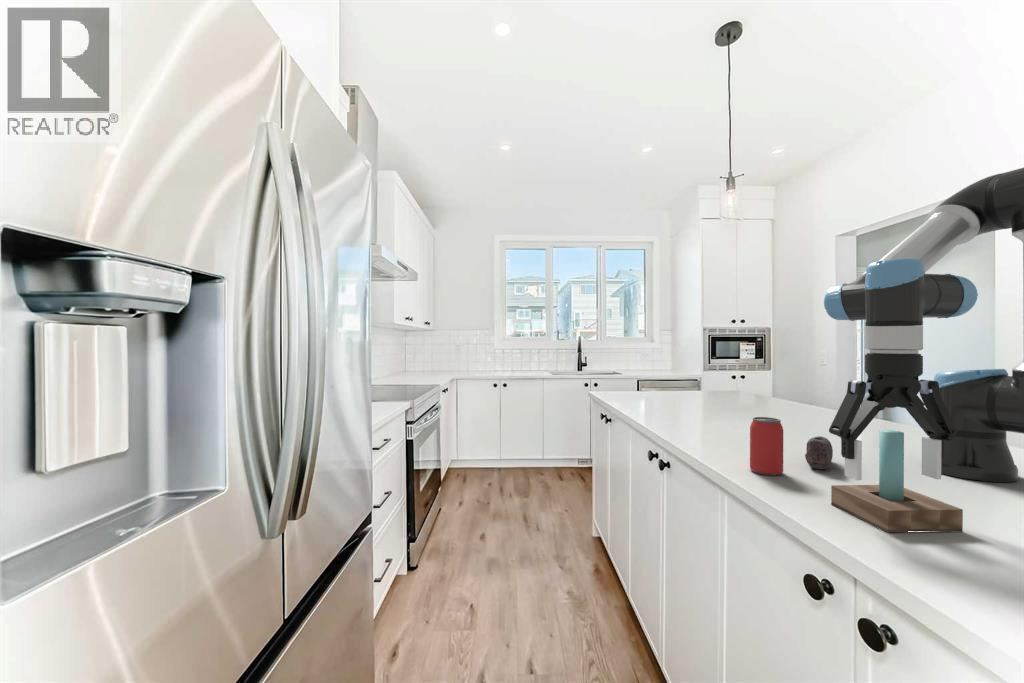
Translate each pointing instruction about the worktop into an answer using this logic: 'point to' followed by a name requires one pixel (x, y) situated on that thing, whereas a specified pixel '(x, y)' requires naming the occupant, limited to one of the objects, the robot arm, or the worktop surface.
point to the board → (897, 509)
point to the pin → (891, 465)
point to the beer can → (766, 446)
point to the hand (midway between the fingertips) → (892, 477)
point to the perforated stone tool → (819, 452)
